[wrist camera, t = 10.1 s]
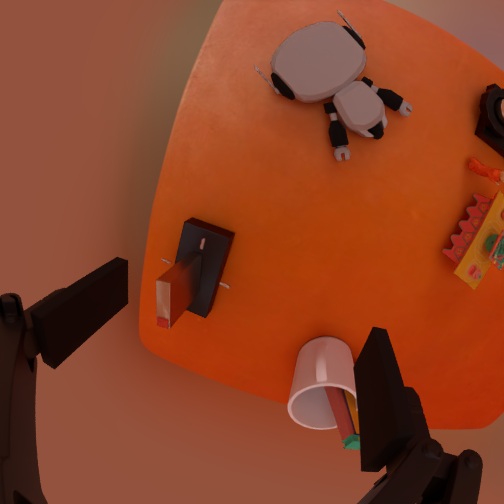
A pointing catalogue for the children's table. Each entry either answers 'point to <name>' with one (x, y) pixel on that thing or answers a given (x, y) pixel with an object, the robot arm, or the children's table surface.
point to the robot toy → (333, 81)
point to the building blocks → (468, 269)
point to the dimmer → (205, 259)
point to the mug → (320, 381)
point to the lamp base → (491, 119)
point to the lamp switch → (499, 111)
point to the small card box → (177, 289)
